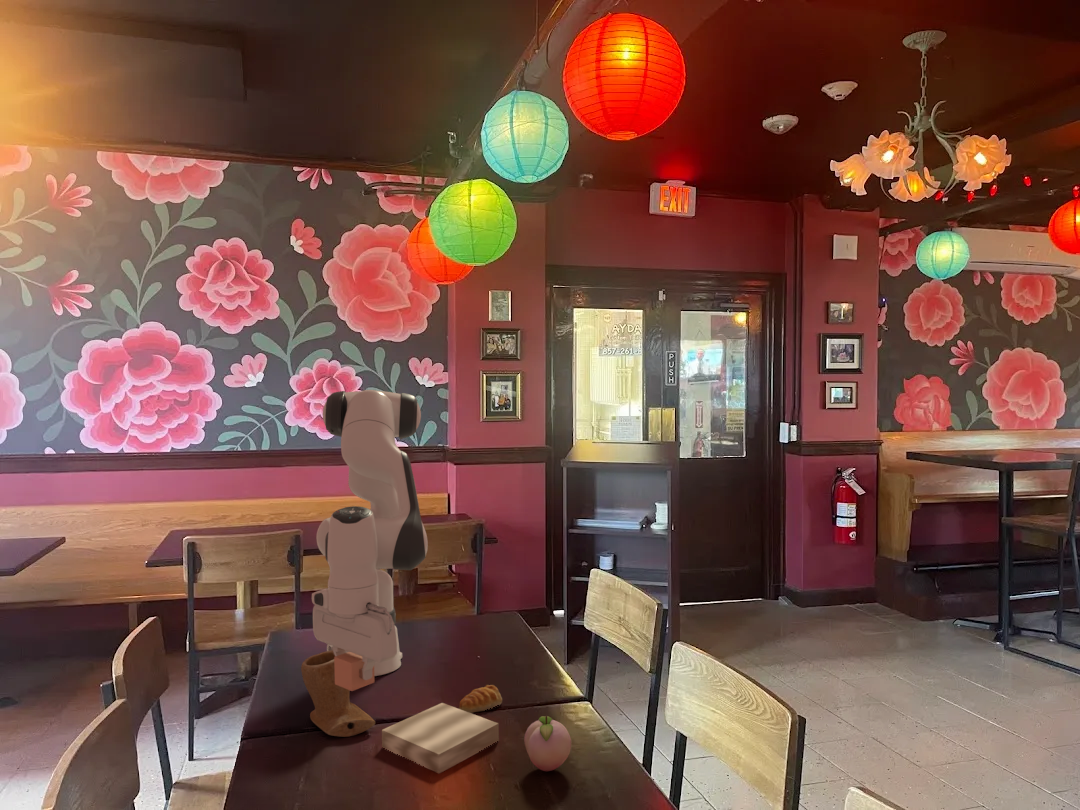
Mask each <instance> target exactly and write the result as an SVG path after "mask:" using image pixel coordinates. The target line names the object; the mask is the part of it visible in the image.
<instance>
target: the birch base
mask: <svg viewBox="0 0 1080 810" xmlns="http://www.w3.org/2000/svg"><path fill="white" fill-rule="evenodd" d="M499 730H500V729H499V722H496V721H493V720H490V719H487V718H485V717H482V716H480V715H476V714H474V713H469V712H466V711H463V710H461V709H459V707H458V708H457V707H456V706H452V705H449V704H447V703H444V702H441V703H438V704H436V705H434V706H431V707H430V708H427V709H425V710H422V711H421V712H419V713H416V714H414V715H412V716H410V717H407V718H405V719H403V720H401V721H399V722H396V723H394V724H392V725H390V726H387V727H385V728H383V729H382V730H381V742H382V743H381V748H382V747H383V748H385V749H384V750H386V749H387V750H386V751H388V750H389V751H388V752H390V751H391V753H392V752H393V753H392V754H395V755H397V754H398V755H397V756H399V755H400V756H399V757H401V756H402V758H403V757H405V758H404V759H406V758H407V759H406V760H408V759H409V760H408V761H410V760H411V762H412V761H414V762H413V763H415V762H416V763H415V764H417V765H419V764H420V765H419V766H421V767H423V766H424V768H426V769H428V770H429V771H433V772H434V773H436V774H442V773H443V772H444V771H446V770H449V769H450V768H452V767H455V766H456V765H457V764H460V763H461V762H463V761H465V760H467V759H469V758H470V757H473V756H474V755H476V754H478V753H479V751H480V752H482V751H483V750H485V749H487V748H489V747H491V746H493V745H494V744H493V743H495V742H496V743H498V742H499V741H500V737H499V736H500V735H499ZM497 741H498V742H497ZM496 743H495V744H496ZM492 744H493V745H492ZM490 745H491V746H490ZM488 746H489V747H488ZM486 747H487V748H486ZM383 748H382V749H383ZM484 748H485V749H484ZM481 750H482V751H481Z"/></svg>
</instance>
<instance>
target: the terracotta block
mask: <svg viewBox="0 0 1080 810" xmlns="http://www.w3.org/2000/svg"><path fill="white" fill-rule="evenodd" d="M363 665H364V662H363V661H362V656H360V655H357V654H355V653H352V652H347V653H344V654H341V655H338V656H335V657H334V668H335V684H336V685H338V686H340V687H343V688H345V689H348V690H350V691H351V692H353V691H354V692H355V691H356V690H359V689H361V688H364V687H366V686H368V685H372V684H374V683H375V676H374V667H373V668H372V678H371V679H368V680H364V679H361V678H360V677H359V675H360V673H359V669H361V668H363Z"/></svg>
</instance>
